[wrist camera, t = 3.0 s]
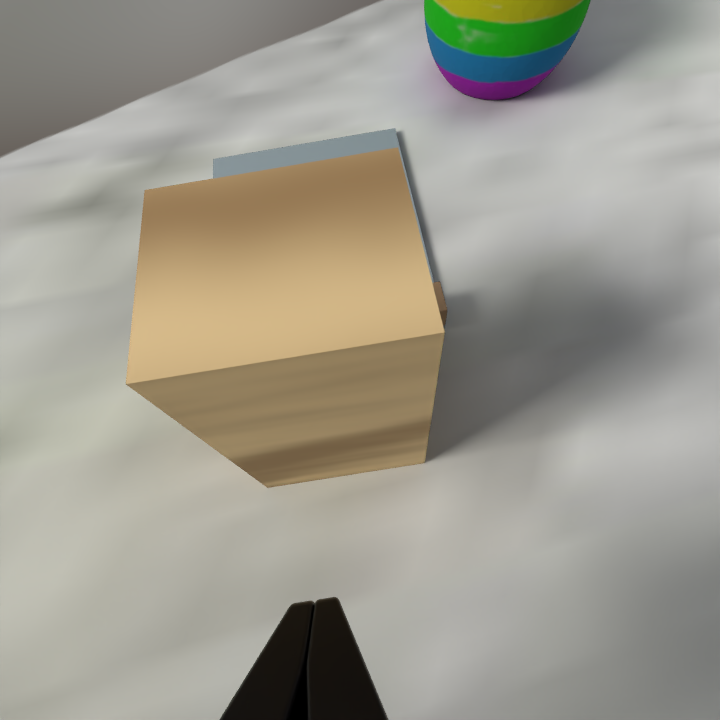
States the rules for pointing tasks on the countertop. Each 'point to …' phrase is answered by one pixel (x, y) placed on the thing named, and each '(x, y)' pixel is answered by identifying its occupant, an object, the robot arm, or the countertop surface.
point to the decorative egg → (500, 42)
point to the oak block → (290, 317)
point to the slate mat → (317, 153)
